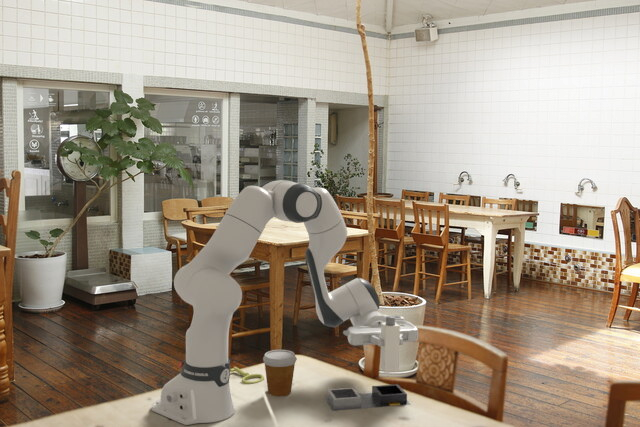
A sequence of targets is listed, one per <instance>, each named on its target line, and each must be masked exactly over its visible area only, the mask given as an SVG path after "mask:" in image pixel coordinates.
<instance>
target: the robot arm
mask: <svg viewBox="0 0 640 427" xmlns="http://www.w3.org/2000/svg"><path fill="white" fill-rule="evenodd" d="M273 218H275V219H278V220H280V221H284V222H291V223H296V224H301V223H303V224H304V227H305V229H306V232H307V234H308V239H309V240H308V247H307V249H306V250H305V253H304V254H305V255H304V256H305V264H306V268H307V272H308V277H309V281H310V286H311V290H312V292H313V293H312V294H313V297H314V298H313V299H314V303H315V311H316V315H317V317H318V319H319V321H320V322H321V323H322V324H323V326H327V327H330V328H337V327H338V326H340V325H341V324H344V322H346V321H347V320H350V322H351V325H352V326H349V327H348V328H347V329H346V330H343V331H342V333H343V335H344V336H346V337H347V340H348V344H350V345H352V346H366V345H367V346H369V345H375V346H378V347H381V346H384V339H382V338H381V323H385V322H386V316H391V314H389V315H388V314H385V313H382V312H380V311H379V309H380V305H381V304H380V298H379V295H378V293H377V291H376V289H375V288H374V287H373V285H372V284H371V283H370V282H369V280H366V279H364V278H363V277H362V278H361V277H356V278H354V279H352V280H350V281H348V282H346V283H344V284H343V285H342V286H339V287H338V288H335V289H333V290H331V291H330V292H329V291H328V286H327V283H326V278H325V270H326V267H327V265H328V264H329V263H330V261H331V260H332V259H333V258H334V257H335V255H337V253H338V252H339V251H341V250H342V248H343V247H344V245H345V243H346V241H347V238H348V230H347V229H348V228H347V224H346V223H345V219H344V217H343V215H342V213H341V210H340V208H339V206H338V205H337V203H336V201H335V199H334V197H333V196H332V195H331V193H330V192H329V191H328V190H327V189H326V188H324V187H320V186H318V187H316V186H315V187H311V186H309V185H308V184H305V183H299V182H294V181H293V180H286V179H283V180H282V179H281V180H280V179H271V180H267V181H264V182H263V183H261V184H260V185H259V186H258V185H247V186H245V187H244V188H243V189H242V190H241V191H240V192H239V193H238V194H237V196H236V197H235V198H234V200H233V201H232V202H231V204H230V205H229V207H228V209H227V210H226V212H225V213H224V215H223V217H222V219H221V221H220V222H219V224H218V225H217V227H216V229H215V230H214V232H213V234H212V235H211V237H210V238H209V240H208V242H206V244H205V245H204V246H203V247H202V248H201V249H200V251H199V252H198V253H197V254H196V255H195V256H194V257H193V258H192V260H190V261H189V262H188V263H187V264H184V265H183V266H182V267H180V268H179V269H178V270H177V272H176V273H175V276H174V279H173V286H174V289H175V291H176V293H177V295H178V296H179V298H181V300H182V301H184V302H185V303H187V304H189V305H190V306H192V307H193V308H192V309H193V315H192V320H191V323H190V326H189V328H187V330H186V331H185V332H186V333H185V359H184V360H182V361H180V362H179V363H177V365H178V366H177V368H178V369H179V368H181V367H182V368H181V370H180V373H178V374H177V375H176V376H174V377H173V378H172V379H170V380H169V381H168V382H166V383H165V384H164V385H163V387H162V389H161V393H160V398H159V399H157V400H156V401H155V402H154V403H153V404H152V405H151V411H152V412H154V413H156V414H159V415H161V416H163V417H166V418H168V419H169V420H170V419H171V420H173V421H174V422H178V423H179V424H182V425H184V426H185V425H186V426H188V425H195V424H205V423H206V424H207V423H216V422H220V421H223V420H226V419H228V418H230V417H231V416H233V415H234V414H235V412H236V411H235V407H234V404H233V399H232V394H231V386H230V376H231V371H230V369H231V361H230V358H229V334H230V333H229V332H230V328H231V322H232V319H233V315H234V313H235V312H236V311H237V310H238V308H239V307H240V306H241V303H242V299H243V290H242V288H241V286H240V284H239V283H238V282H237V281H236V280H235V278H233V276H231V275H230V274H231V273H232V272H233V271H234V270H235V269H236V268H237V267H238V266H240V265H241V264H243V263H245V262H246V261H247V260H248V258H250V255H251V254H252V252H253V250H254V248H255V246H256V245H257V242H258V241H259V239H260V238H261V236H262V234H263V231H264V230H265V228H266V226H267V224H268V223H269V221H271V220H272V219H273ZM393 316H394V317H395V322H396V323H397V324H398V325H399V326H400V341H399V346H402V345H404V343H411V342H413V343H414V342H418V340H419V328H418V327H417V326H415V325H414V324H413V323H412V322H410V321H407V320H406V318H405V317H404V316H399V315H398V316H397V315H393Z"/></svg>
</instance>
